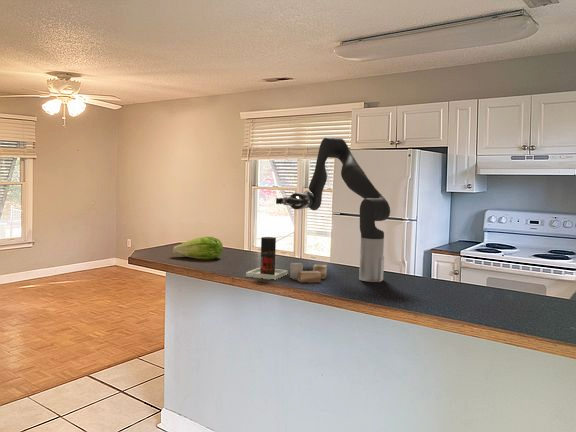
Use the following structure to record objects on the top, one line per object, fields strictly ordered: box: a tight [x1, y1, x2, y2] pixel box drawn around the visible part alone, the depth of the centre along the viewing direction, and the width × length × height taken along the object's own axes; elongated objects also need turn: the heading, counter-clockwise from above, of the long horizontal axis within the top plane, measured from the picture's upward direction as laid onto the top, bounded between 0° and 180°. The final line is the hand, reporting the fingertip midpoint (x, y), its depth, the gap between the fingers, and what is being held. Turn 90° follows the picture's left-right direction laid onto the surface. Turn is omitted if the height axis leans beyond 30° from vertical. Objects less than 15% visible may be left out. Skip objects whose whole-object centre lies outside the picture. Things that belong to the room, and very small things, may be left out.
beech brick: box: [297, 270, 321, 283], centre depth 190 cm, size 4×8×4 cm, turn 109°
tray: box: [245, 267, 289, 281], centre depth 198 cm, size 13×13×2 cm
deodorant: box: [259, 236, 277, 275], centre depth 198 cm, size 6×6×15 cm
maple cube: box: [312, 263, 328, 280], centre depth 199 cm, size 5×5×5 cm
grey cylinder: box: [289, 262, 304, 280], centre depth 195 cm, size 5×5×6 cm
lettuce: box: [172, 236, 224, 260], centre depth 238 cm, size 12×24×13 cm
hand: (286, 201), depth 209 cm, fingers open, 8 cm apart
